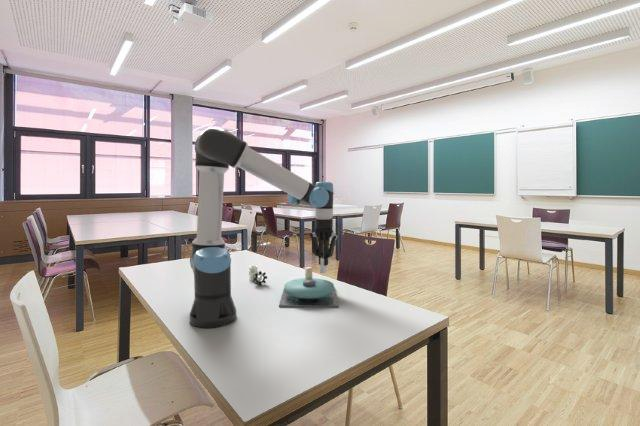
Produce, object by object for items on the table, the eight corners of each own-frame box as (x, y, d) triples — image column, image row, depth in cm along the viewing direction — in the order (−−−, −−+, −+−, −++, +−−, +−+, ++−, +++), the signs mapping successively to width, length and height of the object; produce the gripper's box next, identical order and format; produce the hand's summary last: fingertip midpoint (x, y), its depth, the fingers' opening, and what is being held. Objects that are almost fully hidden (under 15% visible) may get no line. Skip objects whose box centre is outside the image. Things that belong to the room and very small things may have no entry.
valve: (245, 279, 159) (253, 286, 148) (245, 266, 158) (253, 272, 148) (258, 277, 162) (267, 284, 152) (258, 264, 161) (267, 270, 151)
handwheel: (336, 298, 126) (336, 280, 125) (283, 298, 125) (283, 280, 124) (331, 282, 145) (331, 266, 145) (285, 282, 144) (285, 266, 144)
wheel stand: (338, 307, 124) (338, 300, 124) (279, 307, 124) (279, 300, 124) (334, 288, 146) (334, 282, 146) (284, 288, 146) (284, 282, 146)
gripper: (341, 218, 142) (340, 272, 144) (315, 216, 148) (314, 268, 151) (333, 220, 136) (332, 276, 138) (306, 218, 142) (305, 272, 144)
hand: (323, 272), depth 144 cm, fingers closed
